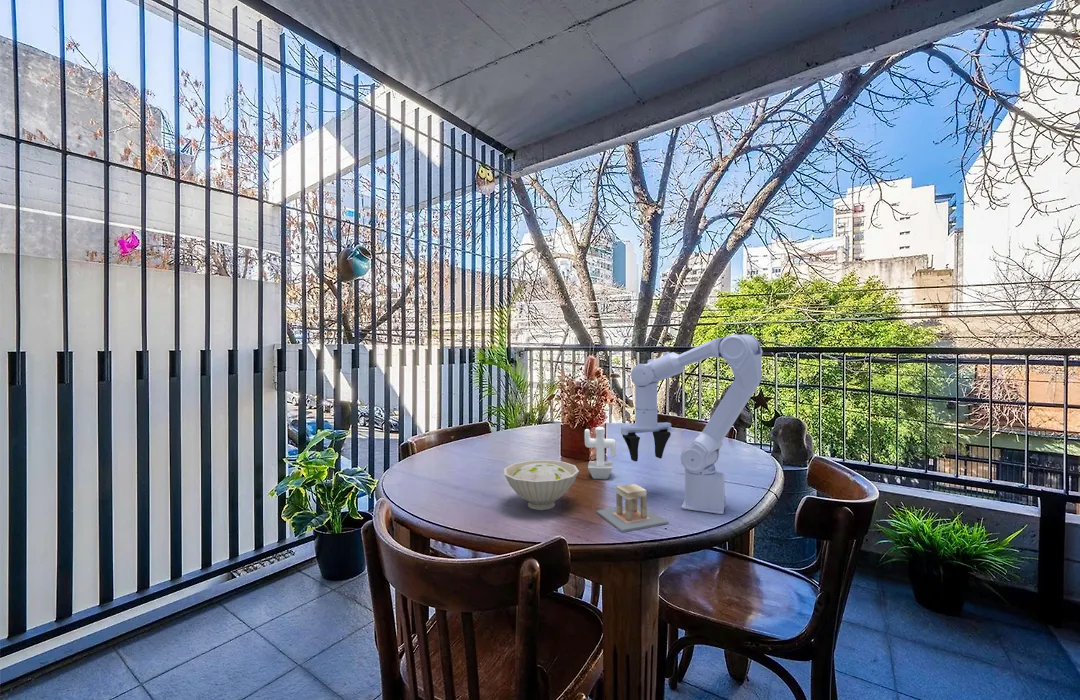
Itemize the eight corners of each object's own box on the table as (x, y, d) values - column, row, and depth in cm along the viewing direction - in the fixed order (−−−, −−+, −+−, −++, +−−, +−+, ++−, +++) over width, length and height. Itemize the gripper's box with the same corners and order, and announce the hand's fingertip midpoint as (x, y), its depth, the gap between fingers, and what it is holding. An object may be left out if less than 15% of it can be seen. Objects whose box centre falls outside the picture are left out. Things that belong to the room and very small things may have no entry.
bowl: (494, 497, 122) (493, 460, 122) (560, 488, 129) (560, 452, 129) (517, 524, 104) (516, 481, 104) (593, 512, 111) (592, 471, 111)
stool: (634, 510, 110) (634, 483, 110) (646, 518, 105) (646, 490, 105) (616, 513, 108) (616, 486, 108) (627, 521, 104) (627, 493, 103)
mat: (639, 505, 115) (639, 503, 115) (668, 523, 103) (668, 521, 103) (596, 512, 110) (596, 510, 110) (621, 532, 99) (621, 529, 99)
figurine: (616, 480, 135) (615, 430, 134) (584, 479, 136) (583, 429, 136) (616, 473, 142) (615, 425, 141) (585, 472, 143) (585, 424, 143)
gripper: (660, 404, 129) (660, 452, 129) (614, 408, 124) (615, 458, 124) (675, 408, 122) (676, 458, 123) (628, 412, 117) (629, 464, 118)
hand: (646, 459), depth 123 cm, fingers open, 7 cm apart
